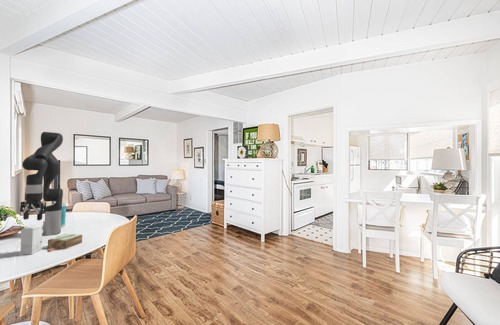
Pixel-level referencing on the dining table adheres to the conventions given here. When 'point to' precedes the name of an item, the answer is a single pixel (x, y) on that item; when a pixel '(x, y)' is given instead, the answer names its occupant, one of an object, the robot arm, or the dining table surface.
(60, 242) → the stand
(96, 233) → the dining table surface
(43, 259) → the dining table surface
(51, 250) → the arrow marker
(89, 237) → the dining table surface
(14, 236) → the dining table surface
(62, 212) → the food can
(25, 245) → the skincare box
